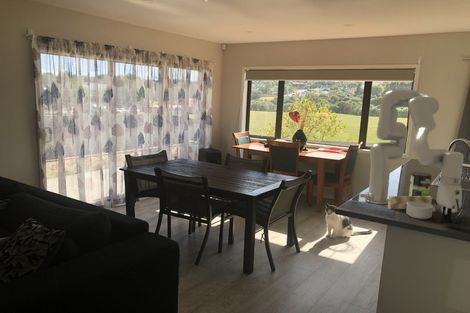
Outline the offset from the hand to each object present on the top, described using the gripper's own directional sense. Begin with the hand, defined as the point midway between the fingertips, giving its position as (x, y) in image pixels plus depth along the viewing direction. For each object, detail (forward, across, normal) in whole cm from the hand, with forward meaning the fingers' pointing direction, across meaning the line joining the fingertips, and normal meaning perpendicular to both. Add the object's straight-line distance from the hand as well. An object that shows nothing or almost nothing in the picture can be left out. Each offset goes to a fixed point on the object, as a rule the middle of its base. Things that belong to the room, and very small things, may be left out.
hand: (445, 222), depth 159 cm
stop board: (+2, +26, 0) cm, 26 cm away
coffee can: (+2, +44, -17) cm, 48 cm away
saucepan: (+2, +11, 0) cm, 11 cm away
